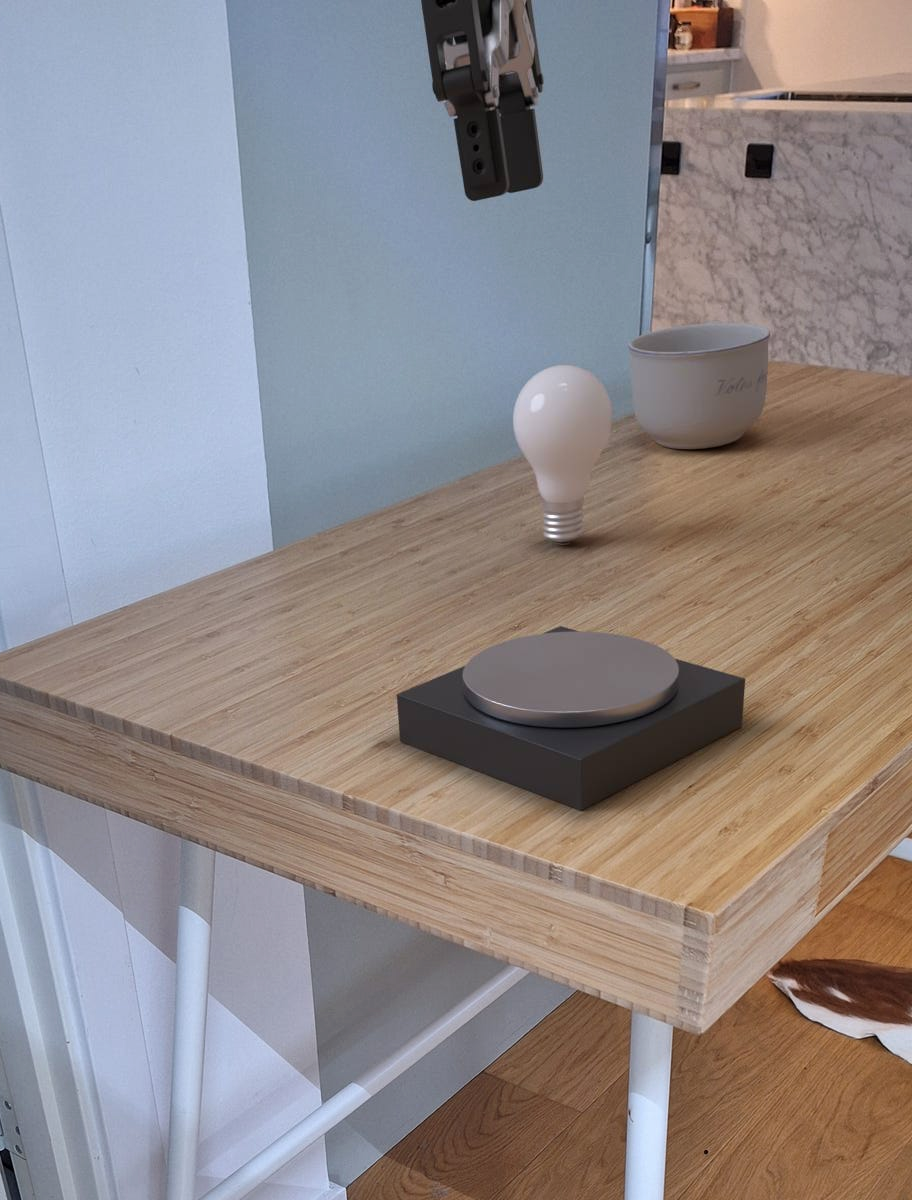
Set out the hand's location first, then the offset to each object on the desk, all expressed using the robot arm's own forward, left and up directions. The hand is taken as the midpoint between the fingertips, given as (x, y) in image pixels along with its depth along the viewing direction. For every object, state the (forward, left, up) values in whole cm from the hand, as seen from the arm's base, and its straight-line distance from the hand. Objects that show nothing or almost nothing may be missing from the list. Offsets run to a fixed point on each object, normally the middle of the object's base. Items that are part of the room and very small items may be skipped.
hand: (507, 194), depth 78 cm
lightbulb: (-9, -4, -22) cm, 24 cm away
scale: (+14, +17, -21) cm, 31 cm away
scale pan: (+14, +17, -19) cm, 29 cm away
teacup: (-37, -14, -22) cm, 45 cm away
